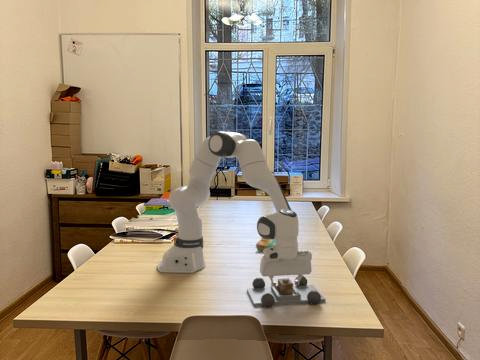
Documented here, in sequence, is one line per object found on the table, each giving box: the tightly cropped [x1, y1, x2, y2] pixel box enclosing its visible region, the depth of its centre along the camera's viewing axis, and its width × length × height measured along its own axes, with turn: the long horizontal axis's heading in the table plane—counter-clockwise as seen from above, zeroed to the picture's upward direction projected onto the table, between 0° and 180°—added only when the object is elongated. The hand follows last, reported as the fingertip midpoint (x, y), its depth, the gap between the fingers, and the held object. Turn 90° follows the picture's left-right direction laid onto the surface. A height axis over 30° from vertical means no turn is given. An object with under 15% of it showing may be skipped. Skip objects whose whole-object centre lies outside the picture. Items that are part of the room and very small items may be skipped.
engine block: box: [277, 277, 294, 295], centre depth 166 cm, size 4×6×6 cm
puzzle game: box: [255, 237, 275, 252], centre depth 232 cm, size 12×5×20 cm
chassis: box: [246, 275, 326, 308], centre depth 167 cm, size 28×17×5 cm, turn 100°
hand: (285, 285), depth 166 cm, fingers open, 8 cm apart
